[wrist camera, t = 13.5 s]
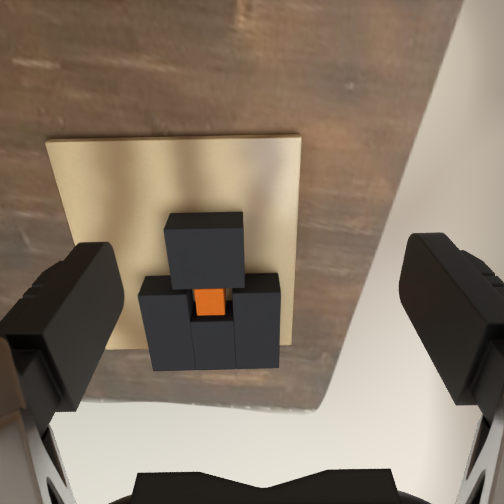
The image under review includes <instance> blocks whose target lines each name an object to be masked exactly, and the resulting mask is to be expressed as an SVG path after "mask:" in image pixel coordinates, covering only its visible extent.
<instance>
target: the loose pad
mask: <svg viewBox="0 0 504 504" xmlns="http://www.w3.org/2000/svg"><path fill="white" fill-rule="evenodd" d="M163 231H164V238H165V244H166V251H167V257H168V264H169V270H170V277H171V284H172V289H173V290H175V289H194V292H195V301H196V309H197V315H225V305H226V288H245V256H244V223H243V212H201V213H170V215H169V217H168V220H167V222H166V225H165V227H164V230H163Z"/></svg>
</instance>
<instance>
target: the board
mask: <svg viewBox="0 0 504 504" xmlns="http://www.w3.org/2000/svg"><path fill="white" fill-rule="evenodd" d="M301 143H302V137H301V135H300V134H277V135H227V136H178V137H129V138H80V139H50V140H48V141H46V142H45V145H46V148H47V152H48V155H49V158H50V162H51V165H52V169H53V172H54V175H55V179H56V182H57V186H58V189H59V192H60V196H61V199H62V203H63V206H64V209H65V213H66V216H67V220H68V223H69V226H70V230H71V233H72V237H73V240H74V243H75V246H76V245H77V244H78V243H80V242H109V243H110V244H111V245H112V247H113V249H114V253H115V257H116V261H117V264H118V268H119V272H120V276H121V280H122V284H123V287H124V297H125V298H124V306H123V310H122V312H121V315H120V317H119V319H118V321H117V323H116V325H115V328H114V330H113V332H112V334H111V336H110V338H109V341H108V343H107V345H106V347H105V349H147V348H148V343H147V339H146V334H145V329H144V325H143V320H142V315H141V311H140V306H139V301H138V297H137V296H138V293H139V291H140V288H141V286H142V283H143V281H144V278H145V276H164V275H170V270H169V264H168V257H167V251H166V244H165V238H164V231H163V230H164V227H165V225H166V222H167V220H168V217H169V215H170V213H201V212H243V223H244V256H245V274H254V273H278V274H279V281H280V288H281V316H280V345H291V339H292V319H293V300H294V280H295V261H296V241H297V221H298V202H299V182H300V163H301ZM192 290H193V298H194V301H195V292H194V289H192ZM228 300H232V288H226V301H228Z"/></svg>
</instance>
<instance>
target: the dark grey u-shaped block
mask: <svg viewBox="0 0 504 504" xmlns="http://www.w3.org/2000/svg"><path fill="white" fill-rule="evenodd" d="M137 297H138V301H139V306H140V311H141V315H142V320H143V325H144V329H145V334H146V339H147V343H148V348H149V353H150V357H151V362H152V367H153V371H183V370H223V369H258V368H279V349H280V316H281V288H280V281H279V274H278V273H254V274H245V288H232V300H228V301H226V305H225V315H197V309H196V301H194V298H193V290H192V289H175V290H173V289H172V284H171V277H170V275H164V276H145V278H144V281H143V283H142V286H141V288H140V291H139V293H138V296H137Z"/></svg>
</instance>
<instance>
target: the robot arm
mask: <svg viewBox="0 0 504 504" xmlns="http://www.w3.org/2000/svg"><path fill="white" fill-rule="evenodd" d="M399 295H400V300H401V303H402V305H403V307H404V309H405V311H406V313H407V315H408V317H409V318H410V320H411V322H412V324H413V326H414V328H415V330H416V332H417V334H418V335H419V337H420V339H421V341H422V343H423V345H424V347H425V349H426V350H427V352H428V354H429V356H430V358H431V360H432V362H433V363H434V365H435V367H436V369H437V371H438V373H439V374H440V377H441V378H442V380H443V382H444V384H445V386H446V388H447V390H448V392H449V393H450V395H451V397H452V399H453V401H454V403H455V404H456V405H478V407H479V408H480V410H481V412H482V413H483V414H482V416H481V418H480V420H479V422H478V425H477V429H476V433H475V436H474V440H473V444H472V447H471V451H470V454H469V458H468V462H467V465H466V469H465V473H464V476H463V480H462V484H461V487H460V490H459V494H458V497H457V500H456V503H455V504H504V282H503V281H502V280H501V279H500V278H499V277H498V276H495V273H494V272H493V271H492V270H491V269H490V268H489V267H488V266H487V265H486V264H485V263H484V262H483V261H482V260H480V259H478V258H477V257H475V256H473V255H471V254H469V253H468V252H466V251H464V250H461V251H460V250H459V249H458V248H457V247H456V246H455V244H453V242H452V241H451V240H450V239H449V238H448V237H447V236H446V235H445V234H444V233H413V234H411V235H410V237H409V239H408V242H407V246H406V251H405V256H404V261H403V265H402V270H401V275H400V280H399ZM124 298H125V297H124V287H123V284H122V280H121V276H120V272H119V268H118V264H117V261H116V257H115V253H114V249H113V247H112V245H111V244H110V243H109V242H80V243H78V244H77V245H76V246H75V247H74V248H73V250H72V251H71V252H70V253H69V255H68V256H67V257H66V258H65V260H64V261H59V262H57V263H56V264H54V265H53V266H51V267H50V268H48V269H47V270H45V271H44V272H42V274H41V275H40V276H39V277H38V278H37V279H36V281H35V282H34V283H33V284H32V288H29V289H28V290H27V291H26V292H25V293H24V295H23V298H22V299H19V300H18V302H17V303H16V304H15V305H14V306H13V307H12V309H11V310H10V311H9V312H8V313H7V314H6V316H5V317H4V318H3V319H2V320H1V321H0V504H76V502H75V499H74V496H73V493H72V490H71V487H70V484H69V481H68V478H67V474H66V471H65V468H64V465H63V462H62V459H61V456H60V453H59V450H58V446H57V443H56V440H55V437H54V434H53V431H52V429H51V427H50V425H49V423H50V421H51V419H52V417H53V415H54V413H55V412H76V410H77V408H78V406H79V404H80V402H81V399H82V397H83V395H84V393H85V391H86V389H87V386H88V384H89V382H90V380H91V378H92V375H93V373H94V371H95V369H96V367H97V365H98V362H99V360H100V358H101V356H102V354H103V352H104V349H105V347H106V345H107V343H108V341H109V338H110V336H111V334H112V332H113V330H114V328H115V325H116V323H117V321H118V319H119V317H120V315H121V312H122V310H123V306H124ZM109 504H431V503H429V502H427V501H424V500H423V499H420V498H418V497H415V496H413V495H410V494H407V493H405V492H401V491H397V488H396V485H395V482H394V478H393V475H392V472H391V469H339V470H325V471H322V472H318V473H315V474H312V475H308V476H305V477H302V478H299V479H295V480H292V481H289V482H286V483H282V484H279V485H275V486H272V487H268V488H259V487H254V486H251V485H247V484H243V483H239V482H235V481H232V480H228V479H224V478H220V477H216V476H213V475H209V474H205V473H202V472H162V473H161V472H158V473H137V477H136V481H135V485H134V489H133V493H132V495H129V496H126V497H123V498H121V499H119V500H116V501H114V502H112V503H109Z"/></svg>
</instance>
